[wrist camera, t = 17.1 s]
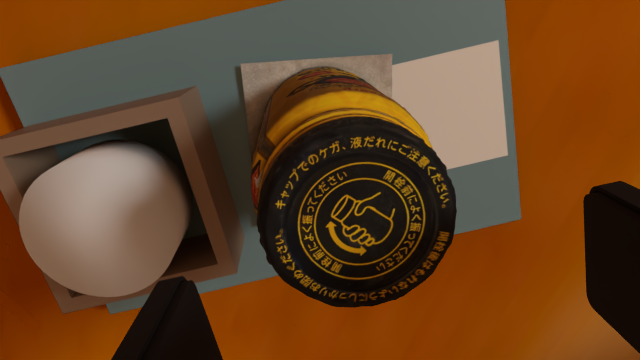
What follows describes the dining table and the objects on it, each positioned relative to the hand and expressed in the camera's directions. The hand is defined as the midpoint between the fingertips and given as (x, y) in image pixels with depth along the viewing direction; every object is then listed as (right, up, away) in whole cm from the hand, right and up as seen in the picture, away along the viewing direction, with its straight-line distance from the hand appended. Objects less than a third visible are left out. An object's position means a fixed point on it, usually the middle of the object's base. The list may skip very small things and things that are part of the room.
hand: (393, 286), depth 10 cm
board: (-4, +4, +13) cm, 15 cm away
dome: (-11, +1, +10) cm, 15 cm away
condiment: (-2, +4, +12) cm, 13 cm away
